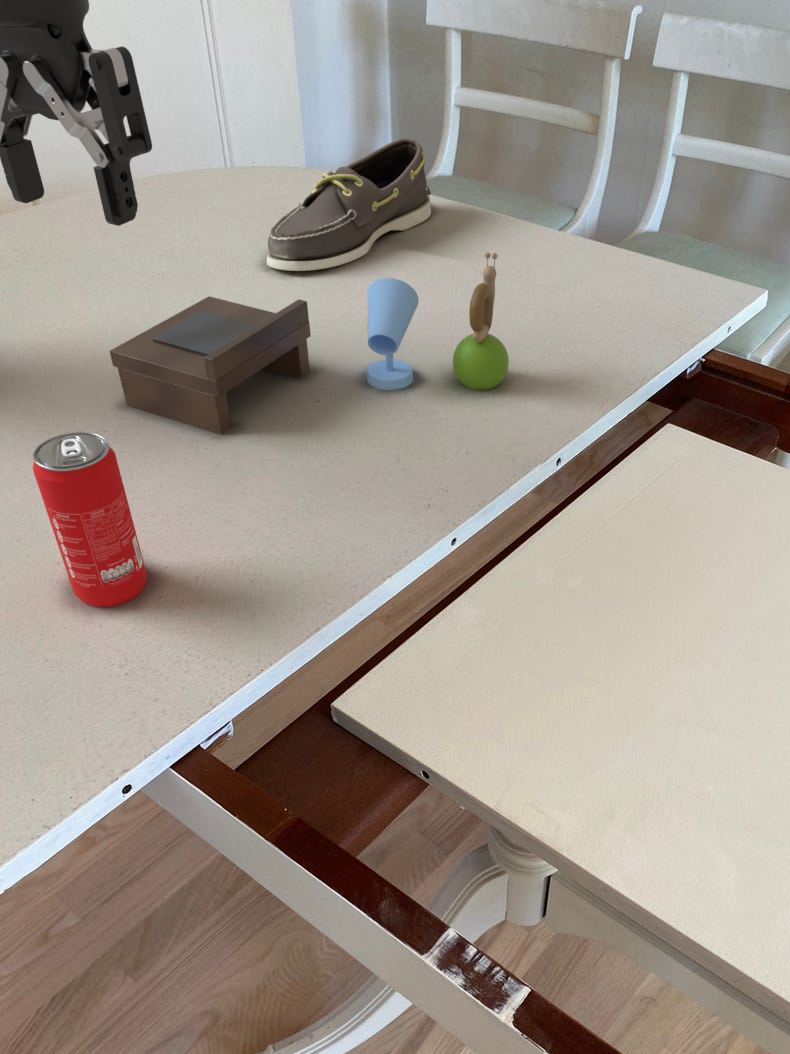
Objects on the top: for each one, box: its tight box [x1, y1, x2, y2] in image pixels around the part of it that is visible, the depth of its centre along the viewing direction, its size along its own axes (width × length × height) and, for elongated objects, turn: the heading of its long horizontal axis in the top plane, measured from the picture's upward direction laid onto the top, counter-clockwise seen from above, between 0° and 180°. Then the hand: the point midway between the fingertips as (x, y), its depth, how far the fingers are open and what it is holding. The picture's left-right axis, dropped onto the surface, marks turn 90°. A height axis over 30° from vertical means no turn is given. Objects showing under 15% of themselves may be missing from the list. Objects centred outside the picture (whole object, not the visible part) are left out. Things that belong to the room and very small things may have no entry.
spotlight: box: [366, 277, 419, 391], centre depth 93 cm, size 5×10×7 cm
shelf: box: [109, 296, 311, 436], centre depth 91 cm, size 12×14×8 cm
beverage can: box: [32, 431, 148, 608], centre depth 67 cm, size 5×5×12 cm
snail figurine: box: [452, 251, 510, 391], centre depth 92 cm, size 5×6×12 cm
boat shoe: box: [266, 137, 432, 272], centre depth 122 cm, size 11×31×9 cm, turn 149°
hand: (75, 210), depth 68 cm, fingers open, 8 cm apart
